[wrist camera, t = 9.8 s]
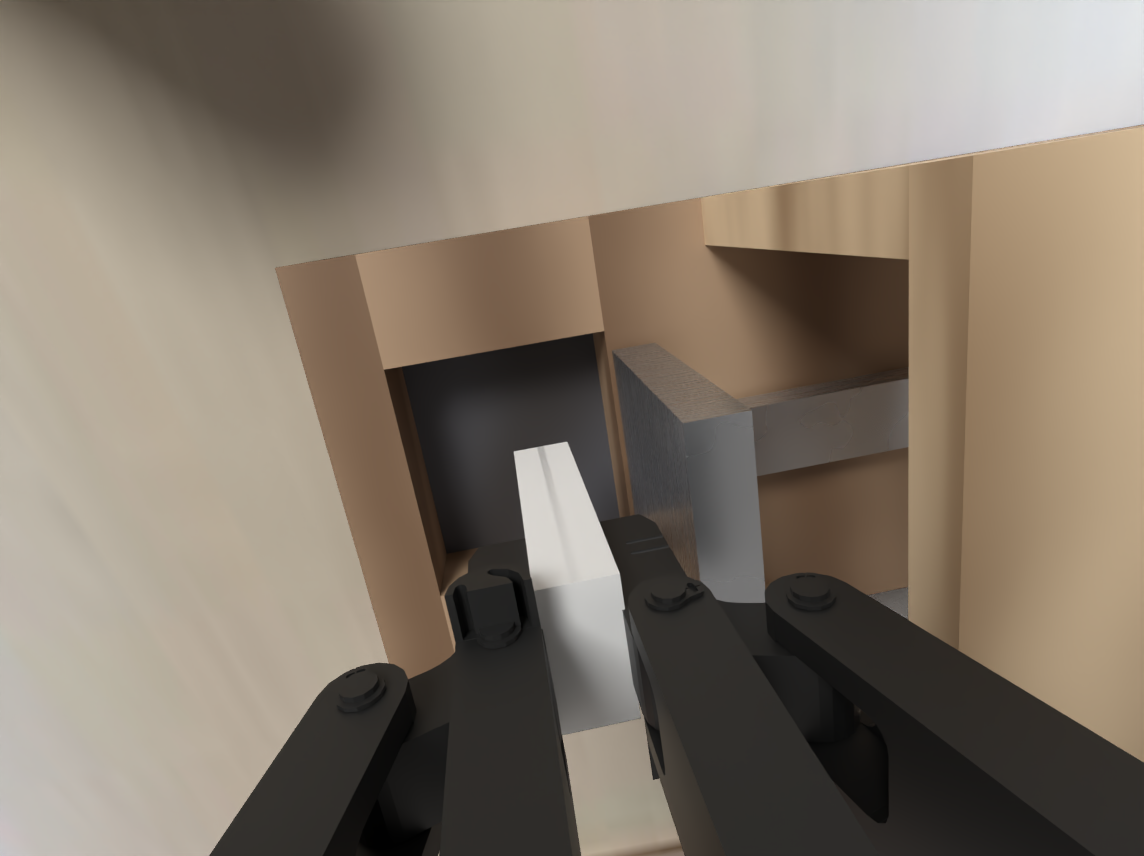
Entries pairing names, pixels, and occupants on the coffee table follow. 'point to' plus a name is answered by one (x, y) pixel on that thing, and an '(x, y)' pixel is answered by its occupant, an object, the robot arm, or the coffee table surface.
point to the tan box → (1010, 398)
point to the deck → (578, 389)
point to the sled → (737, 454)
